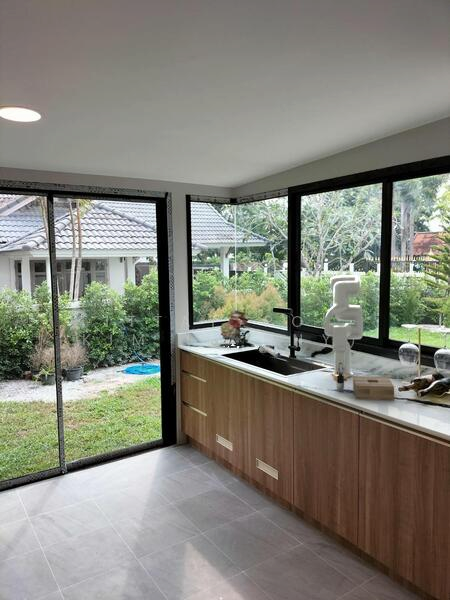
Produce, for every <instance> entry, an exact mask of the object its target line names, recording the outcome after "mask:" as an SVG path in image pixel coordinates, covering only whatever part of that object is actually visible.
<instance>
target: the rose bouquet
mask: <svg viewBox="0 0 450 600" xmlns="http://www.w3.org/2000/svg"><path fill="white" fill-rule="evenodd" d="M228 315H229V317H230V318H229V320H228V321H227V322H224V323H222V324H221V326H220V330H221V331H220V332H221V333H220V336H222V339H224V341H223V343H219V346H226V347H228V346H229V348H228V349H231V348H237V346H240V347H239V348H240V349H241V348H246V345H249V346H251V347H255V345H254V344H253V343H251V342H249V339H246V338H247V336H246V335H245V336H243V337H242V336H241V332H242V331H243V330H241V329H251V327H250V326H248V321H249V320H251V318H246V315H247V313H245V312H243V311H240V310H232V311H231V312H230V314H228ZM227 340H228V341H229V343H226V341H227ZM232 341H233V343H236V346H231V345H232V343H231V342H232ZM226 347H225V348H226Z"/></svg>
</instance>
